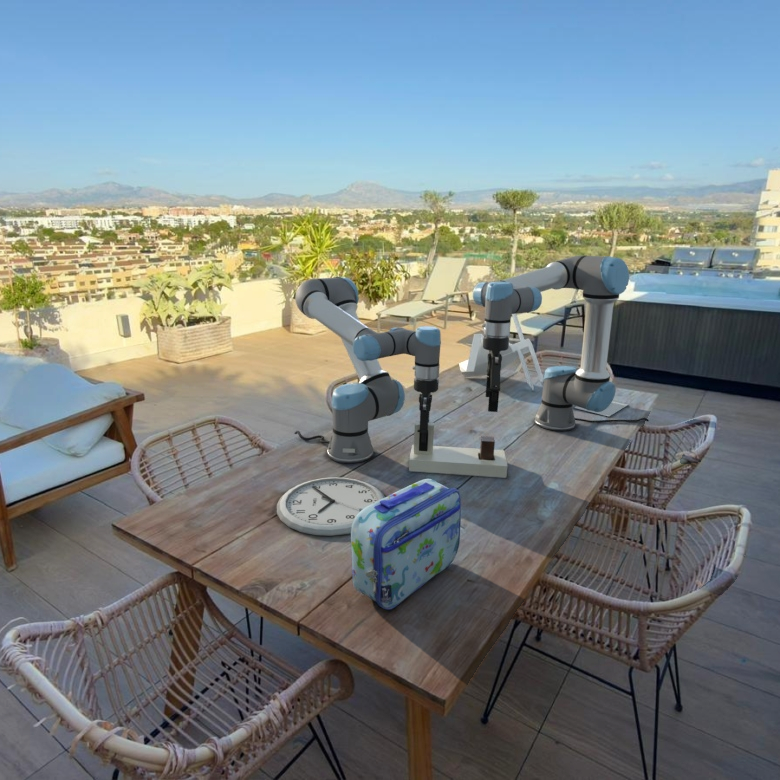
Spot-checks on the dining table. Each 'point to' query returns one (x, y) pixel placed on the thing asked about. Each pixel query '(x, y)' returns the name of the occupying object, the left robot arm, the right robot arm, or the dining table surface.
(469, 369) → the white plastic object
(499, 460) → the peg board
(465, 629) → the dining table surface
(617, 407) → the invitation card
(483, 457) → the peg
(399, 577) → the lunch box
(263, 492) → the dining table surface
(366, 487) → the wall clock
